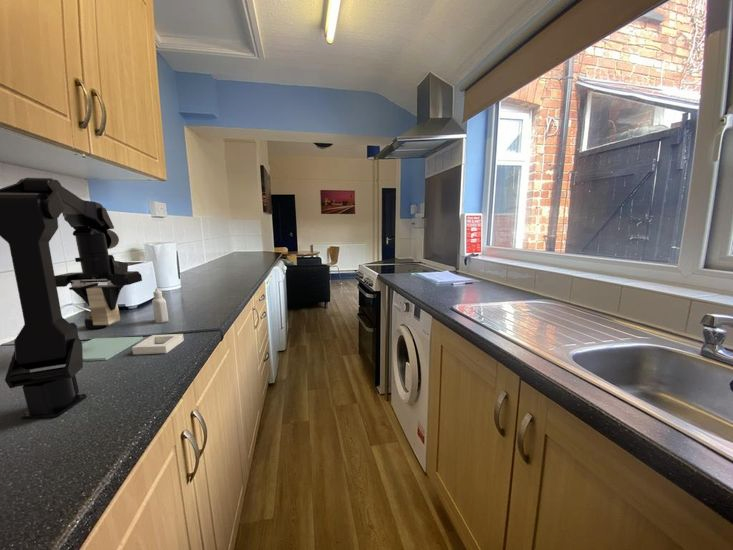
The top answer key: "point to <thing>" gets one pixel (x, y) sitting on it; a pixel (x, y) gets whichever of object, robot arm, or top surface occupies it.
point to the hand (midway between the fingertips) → (104, 310)
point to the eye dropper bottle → (159, 307)
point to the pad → (106, 347)
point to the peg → (101, 307)
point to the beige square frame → (152, 348)
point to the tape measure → (91, 323)
